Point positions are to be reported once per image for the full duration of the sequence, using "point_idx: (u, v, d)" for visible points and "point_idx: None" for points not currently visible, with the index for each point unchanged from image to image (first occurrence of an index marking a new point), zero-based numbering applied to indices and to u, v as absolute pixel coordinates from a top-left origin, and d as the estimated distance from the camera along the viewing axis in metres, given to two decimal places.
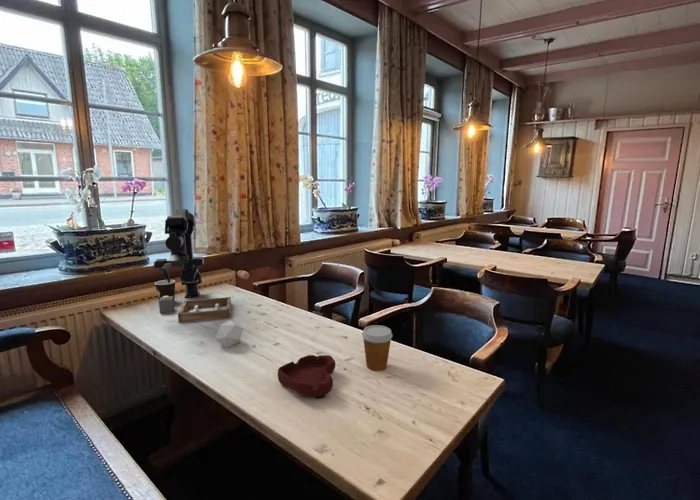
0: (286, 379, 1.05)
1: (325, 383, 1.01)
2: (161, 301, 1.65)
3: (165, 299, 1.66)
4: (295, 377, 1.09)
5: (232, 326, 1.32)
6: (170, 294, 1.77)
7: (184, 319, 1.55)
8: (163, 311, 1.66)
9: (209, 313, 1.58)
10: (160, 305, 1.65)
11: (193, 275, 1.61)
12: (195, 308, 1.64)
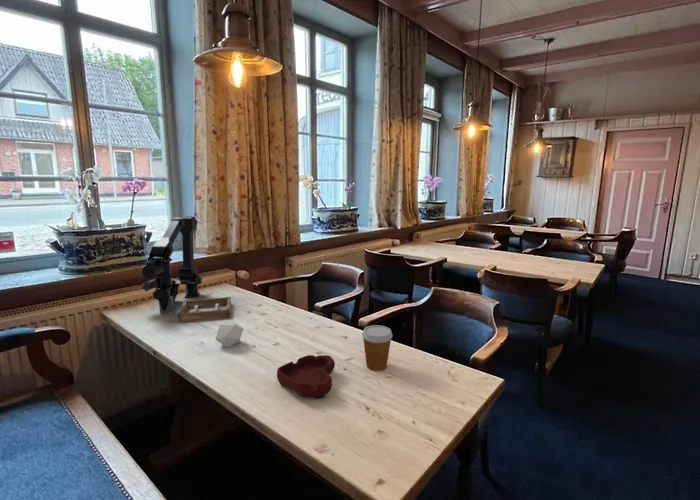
0: (285, 379, 1.05)
1: (324, 383, 1.01)
2: None
3: None
4: (294, 377, 1.09)
5: (232, 326, 1.32)
6: None
7: (184, 319, 1.55)
8: (163, 311, 1.66)
9: (209, 313, 1.58)
10: (160, 305, 1.65)
11: None
12: (195, 308, 1.64)
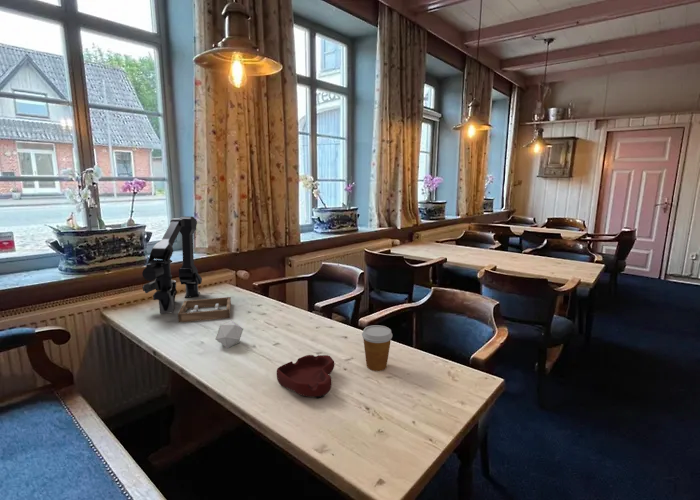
0: (285, 379, 1.05)
1: (324, 383, 1.01)
2: None
3: None
4: (294, 377, 1.09)
5: (232, 326, 1.32)
6: None
7: (184, 319, 1.55)
8: (163, 311, 1.66)
9: (209, 313, 1.58)
10: (160, 305, 1.65)
11: None
12: (195, 308, 1.64)
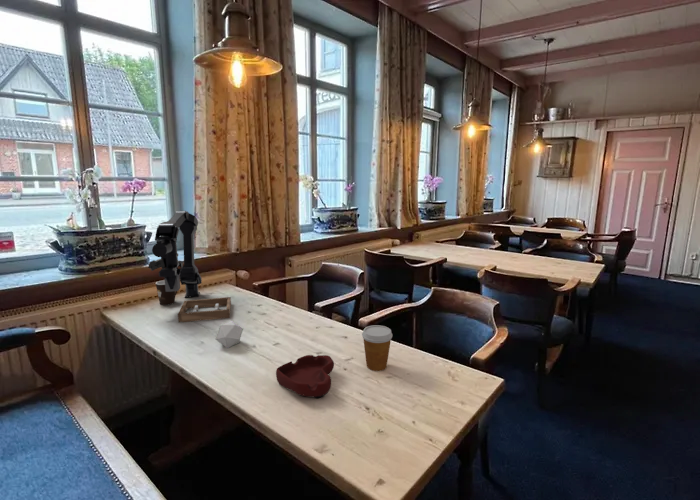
0: (284, 379, 1.05)
1: (323, 383, 1.01)
2: None
3: None
4: (294, 377, 1.09)
5: (232, 326, 1.32)
6: (171, 294, 1.77)
7: (184, 319, 1.55)
8: (169, 289, 1.63)
9: (209, 313, 1.58)
10: (166, 283, 1.62)
11: None
12: (195, 308, 1.64)
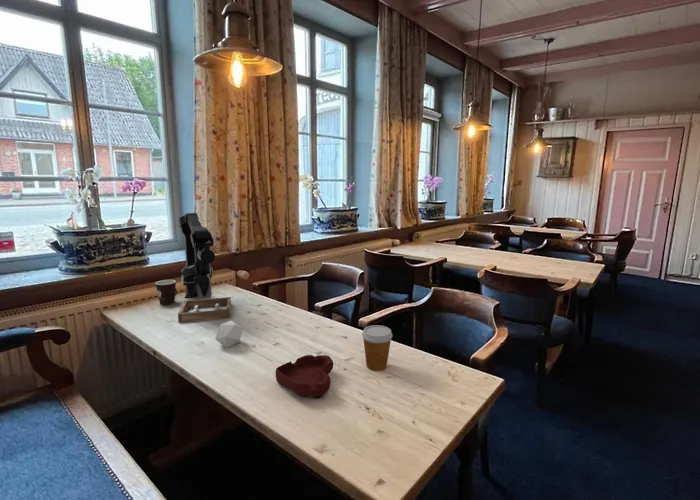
0: (284, 379, 1.05)
1: (323, 383, 1.01)
2: None
3: None
4: (293, 377, 1.09)
5: (232, 326, 1.32)
6: (171, 294, 1.77)
7: (184, 319, 1.55)
8: (201, 296, 1.62)
9: (209, 313, 1.58)
10: (199, 290, 1.61)
11: None
12: (195, 308, 1.64)
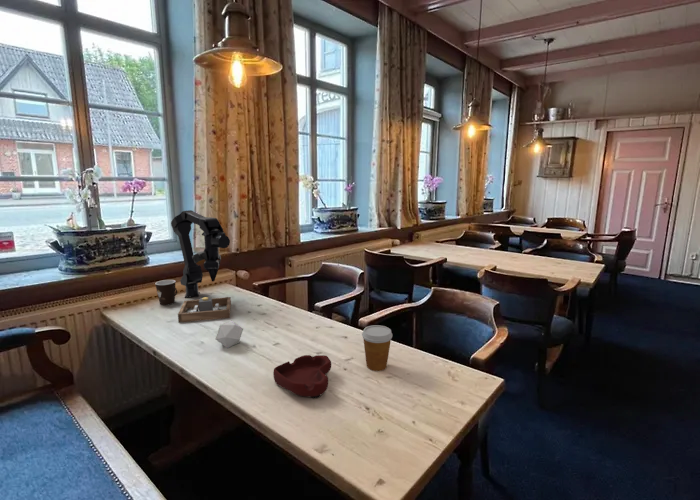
0: (282, 379, 1.05)
1: (320, 383, 1.01)
2: (201, 303, 1.63)
3: (205, 301, 1.63)
4: (291, 377, 1.09)
5: (232, 326, 1.32)
6: (171, 294, 1.77)
7: (184, 319, 1.55)
8: None
9: (209, 313, 1.58)
10: (200, 307, 1.63)
11: (210, 275, 1.70)
12: (195, 308, 1.64)
